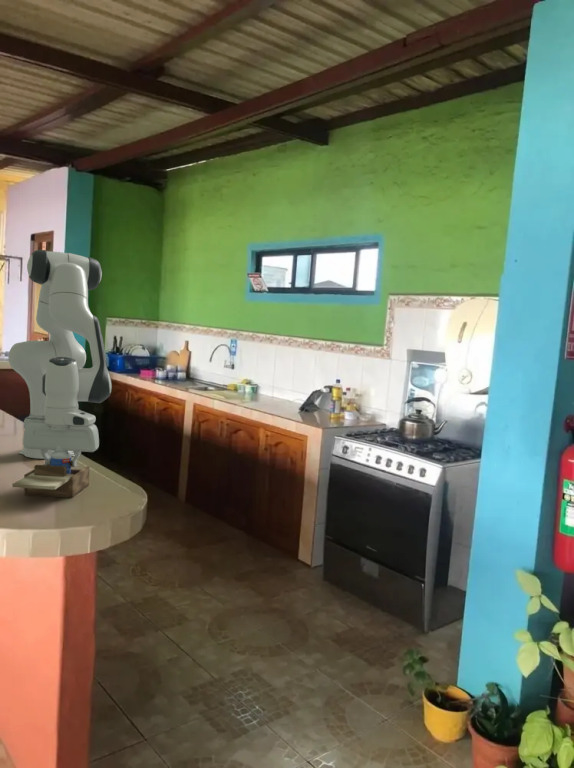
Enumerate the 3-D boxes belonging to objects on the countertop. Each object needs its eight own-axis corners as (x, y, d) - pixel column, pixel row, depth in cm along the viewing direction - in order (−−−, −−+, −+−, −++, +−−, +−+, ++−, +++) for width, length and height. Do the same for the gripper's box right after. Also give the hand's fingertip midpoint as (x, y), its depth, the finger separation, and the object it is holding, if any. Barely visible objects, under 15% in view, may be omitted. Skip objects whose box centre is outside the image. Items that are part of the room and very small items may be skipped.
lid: (34, 474, 172) (34, 463, 172) (73, 477, 172) (73, 465, 172) (12, 487, 159) (12, 474, 159) (55, 489, 159) (55, 476, 159)
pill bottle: (64, 482, 173) (64, 447, 172) (46, 480, 174) (46, 445, 173) (74, 478, 179) (75, 444, 178) (57, 476, 180) (57, 442, 179)
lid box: (43, 482, 182) (44, 464, 181) (88, 485, 181) (89, 466, 181) (24, 494, 169) (24, 474, 168) (72, 497, 169) (72, 477, 168)
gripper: (19, 416, 172) (18, 466, 173) (94, 420, 172) (93, 470, 173) (29, 413, 178) (28, 461, 180) (101, 416, 178) (100, 465, 179)
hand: (60, 465), depth 176 cm, fingers closed on pill bottle, 5 cm apart
